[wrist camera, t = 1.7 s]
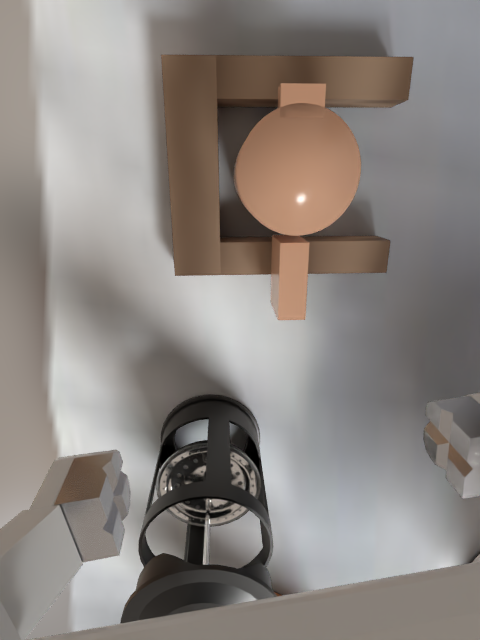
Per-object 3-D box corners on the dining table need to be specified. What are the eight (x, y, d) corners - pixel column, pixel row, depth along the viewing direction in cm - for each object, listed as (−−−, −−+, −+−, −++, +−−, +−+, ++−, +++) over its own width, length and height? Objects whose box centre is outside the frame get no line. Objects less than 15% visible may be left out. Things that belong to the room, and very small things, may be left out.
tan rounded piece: (232, 110, 28) (237, 83, 20) (329, 110, 28) (369, 83, 20) (234, 290, 32) (238, 323, 25) (317, 289, 32) (346, 321, 25)
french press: (169, 380, 35) (84, 709, 13) (270, 396, 36) (348, 725, 14) (153, 483, 38) (66, 870, 17) (245, 495, 39) (274, 874, 18)
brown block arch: (394, 69, 27) (413, 57, 25) (372, 265, 32) (386, 272, 29) (167, 67, 27) (161, 54, 24) (178, 267, 31) (174, 275, 29)
